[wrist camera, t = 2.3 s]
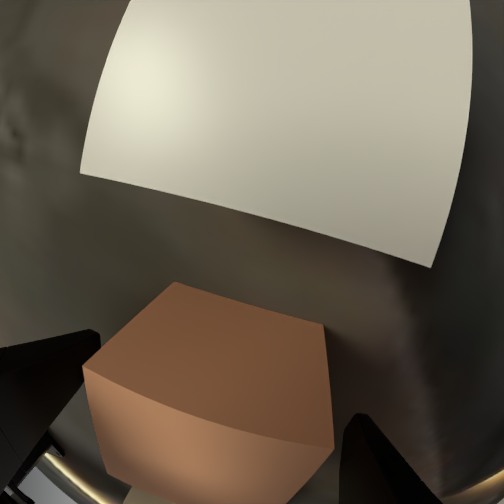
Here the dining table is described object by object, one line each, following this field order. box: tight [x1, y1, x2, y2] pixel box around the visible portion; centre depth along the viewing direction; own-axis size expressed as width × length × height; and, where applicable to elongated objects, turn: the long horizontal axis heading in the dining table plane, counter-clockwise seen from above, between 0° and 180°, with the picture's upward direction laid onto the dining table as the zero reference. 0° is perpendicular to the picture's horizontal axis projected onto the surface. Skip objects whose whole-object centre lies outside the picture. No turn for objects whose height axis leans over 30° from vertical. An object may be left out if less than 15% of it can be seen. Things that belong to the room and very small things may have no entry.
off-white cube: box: [80, 0, 472, 268], centre depth 5 cm, size 5×5×5 cm
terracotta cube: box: [82, 282, 334, 504], centre depth 8 cm, size 5×5×5 cm
